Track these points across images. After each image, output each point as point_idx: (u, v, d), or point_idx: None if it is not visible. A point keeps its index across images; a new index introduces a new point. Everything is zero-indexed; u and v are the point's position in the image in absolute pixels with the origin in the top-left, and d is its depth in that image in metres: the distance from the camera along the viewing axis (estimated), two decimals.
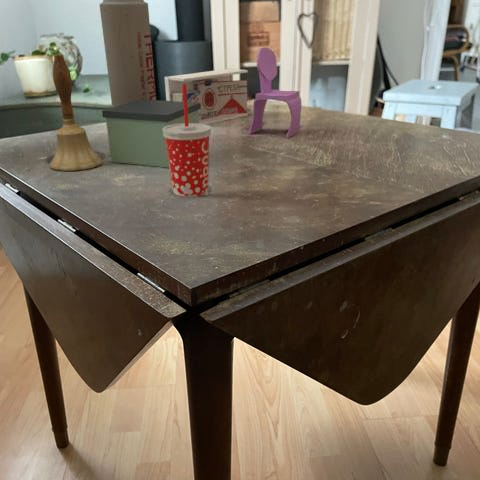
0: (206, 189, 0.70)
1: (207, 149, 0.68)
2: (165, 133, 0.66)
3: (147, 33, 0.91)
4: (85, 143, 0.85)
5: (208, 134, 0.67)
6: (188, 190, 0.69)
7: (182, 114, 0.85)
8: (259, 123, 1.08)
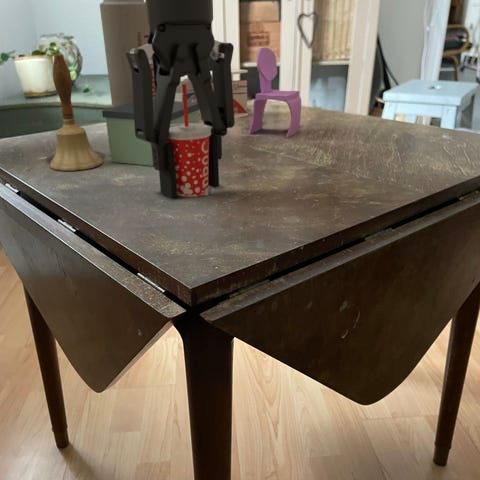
0: (206, 189, 0.70)
1: (207, 149, 0.68)
2: None
3: (148, 33, 0.91)
4: (85, 143, 0.85)
5: (208, 134, 0.67)
6: (188, 190, 0.69)
7: (182, 114, 0.85)
8: (259, 123, 1.08)
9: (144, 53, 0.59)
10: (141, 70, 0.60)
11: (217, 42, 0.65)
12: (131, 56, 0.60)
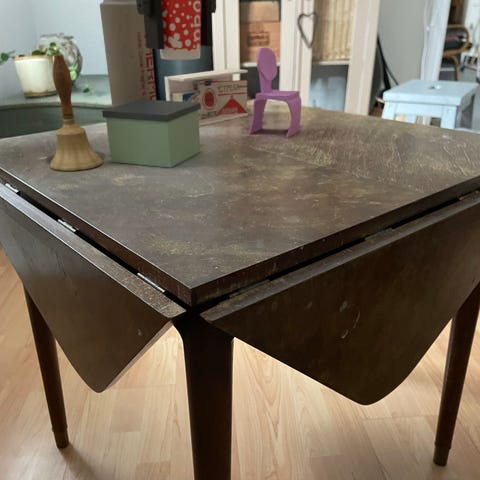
0: (198, 45, 0.62)
1: None
2: None
3: None
4: (85, 143, 0.85)
5: None
6: (177, 42, 0.61)
7: (182, 114, 0.85)
8: (259, 123, 1.08)
9: None
10: None
11: None
12: None
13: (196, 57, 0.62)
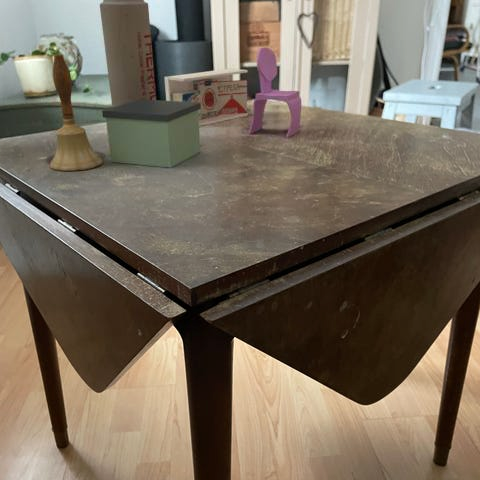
0: None
1: None
2: None
3: (148, 33, 0.91)
4: (85, 143, 0.85)
5: None
6: None
7: (182, 114, 0.85)
8: (259, 123, 1.08)
9: None
10: None
11: None
12: None
13: None
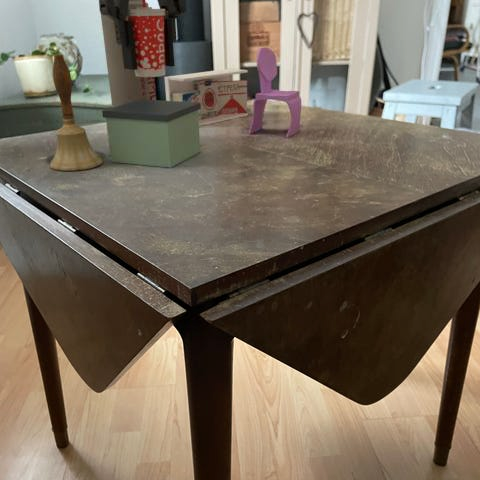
0: (162, 65, 0.83)
1: (162, 28, 0.81)
2: None
3: None
4: (85, 143, 0.85)
5: (162, 13, 0.79)
6: (147, 64, 0.82)
7: (182, 114, 0.85)
8: (259, 123, 1.08)
9: None
10: None
11: None
12: None
13: (161, 74, 0.84)
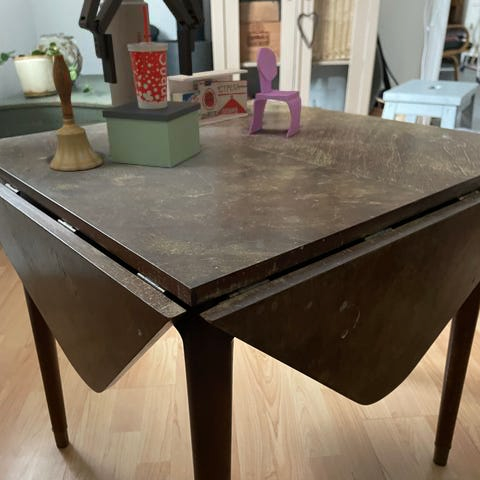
0: (165, 97, 0.85)
1: (164, 62, 0.83)
2: (129, 47, 0.81)
3: (148, 33, 0.91)
4: (85, 143, 0.85)
5: (164, 48, 0.82)
6: (149, 97, 0.84)
7: (182, 114, 0.85)
8: (259, 123, 1.08)
9: None
10: None
11: None
12: None
13: (164, 106, 0.86)
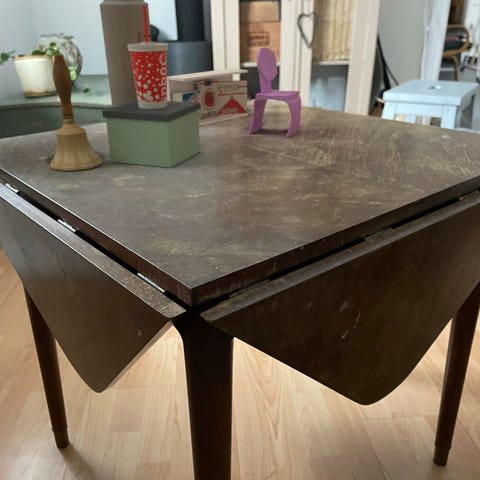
0: (165, 97, 0.85)
1: (164, 62, 0.83)
2: (129, 47, 0.81)
3: (148, 33, 0.91)
4: (85, 143, 0.85)
5: (164, 48, 0.82)
6: (149, 97, 0.84)
7: (182, 114, 0.85)
8: (259, 123, 1.08)
9: None
10: None
11: None
12: None
13: (164, 106, 0.86)
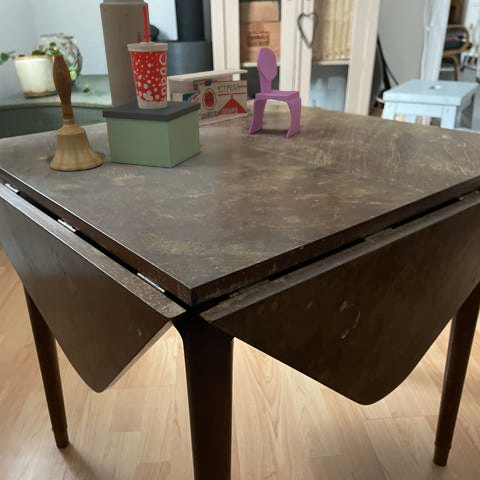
0: (165, 97, 0.85)
1: (164, 62, 0.83)
2: (129, 47, 0.81)
3: (148, 33, 0.91)
4: (85, 143, 0.85)
5: (164, 48, 0.82)
6: (149, 97, 0.84)
7: (182, 114, 0.85)
8: (259, 123, 1.08)
9: None
10: None
11: None
12: None
13: (164, 106, 0.86)
